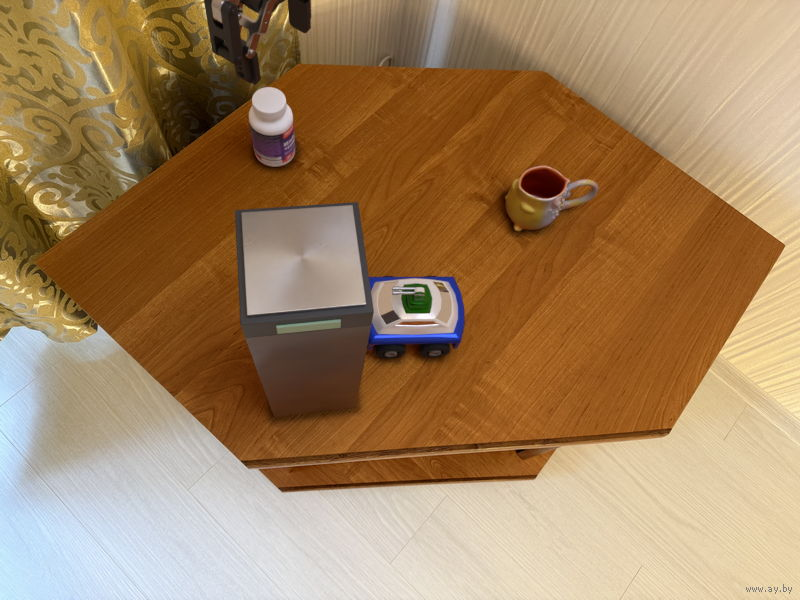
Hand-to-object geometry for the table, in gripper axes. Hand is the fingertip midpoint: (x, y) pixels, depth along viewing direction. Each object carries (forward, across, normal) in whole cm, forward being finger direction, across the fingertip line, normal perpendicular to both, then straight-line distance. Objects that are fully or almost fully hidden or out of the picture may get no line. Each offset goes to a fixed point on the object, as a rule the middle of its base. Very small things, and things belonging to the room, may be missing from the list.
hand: (275, 53), depth 60 cm
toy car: (+20, +10, +24) cm, 33 cm away
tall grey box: (+20, +21, +18) cm, 34 cm away
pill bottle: (+20, -2, -3) cm, 20 cm away
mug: (+20, -15, +32) cm, 40 cm away
